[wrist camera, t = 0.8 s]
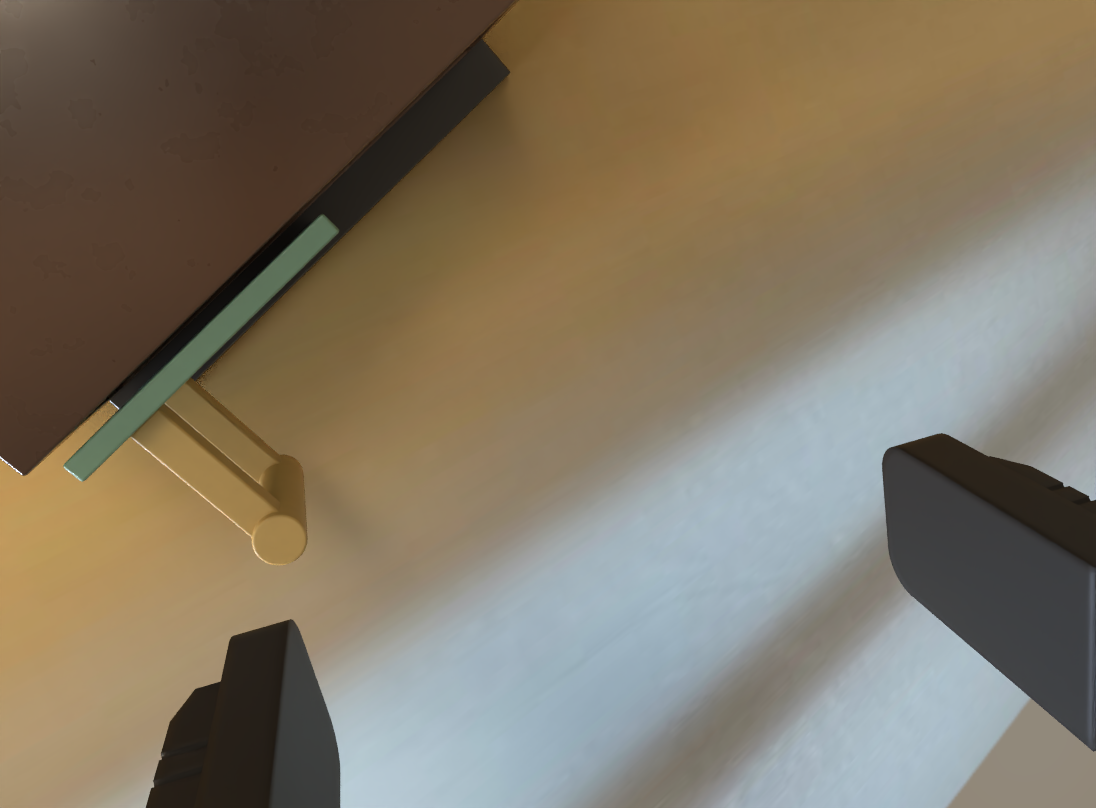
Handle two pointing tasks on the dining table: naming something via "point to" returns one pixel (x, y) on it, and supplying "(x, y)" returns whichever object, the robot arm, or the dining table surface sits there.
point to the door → (219, 423)
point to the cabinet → (193, 169)
